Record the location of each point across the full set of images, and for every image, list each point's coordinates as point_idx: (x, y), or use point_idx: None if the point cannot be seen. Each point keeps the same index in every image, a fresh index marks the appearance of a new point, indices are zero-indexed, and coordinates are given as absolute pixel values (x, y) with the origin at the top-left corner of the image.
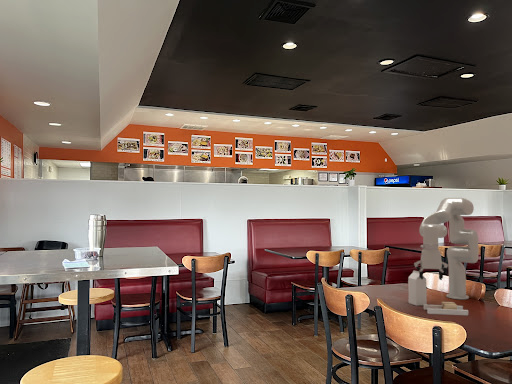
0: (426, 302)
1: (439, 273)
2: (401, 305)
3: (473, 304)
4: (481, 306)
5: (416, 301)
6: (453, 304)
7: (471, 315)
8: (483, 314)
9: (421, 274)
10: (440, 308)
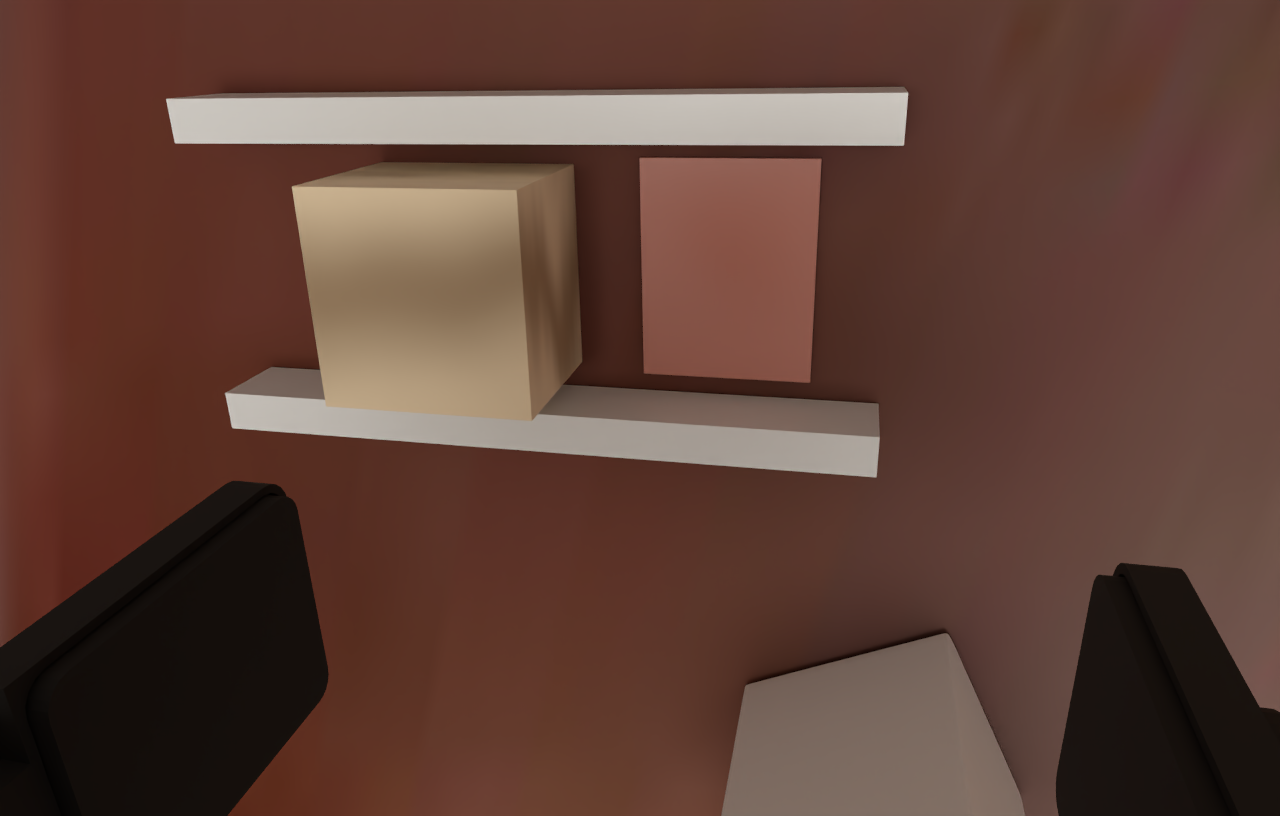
0: (743, 708)
1: (144, 805)
2: None
3: None
4: None
5: (945, 680)
6: (348, 203)
7: None
8: (20, 204)
9: (1268, 775)
10: (589, 398)
